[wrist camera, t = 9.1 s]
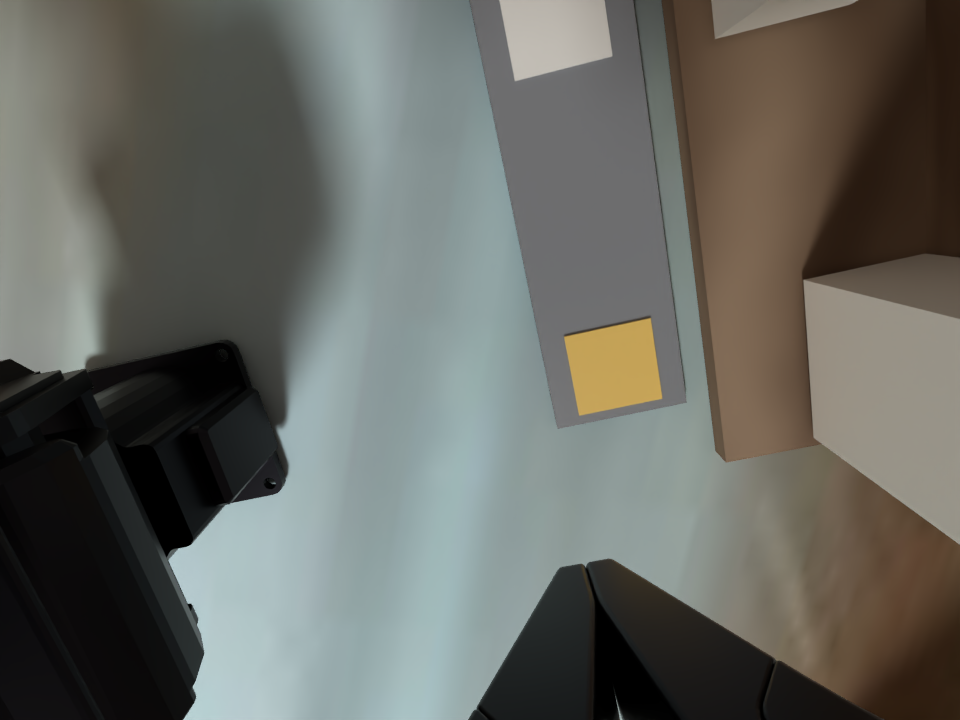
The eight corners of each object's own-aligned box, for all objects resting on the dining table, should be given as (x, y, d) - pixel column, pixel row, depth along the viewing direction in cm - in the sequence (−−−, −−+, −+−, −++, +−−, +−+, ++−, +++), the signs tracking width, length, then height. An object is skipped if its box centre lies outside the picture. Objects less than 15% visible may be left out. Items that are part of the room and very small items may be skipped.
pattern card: (556, 424, 22) (558, 429, 21) (463, -31, 17) (462, -38, 17) (682, 398, 21) (687, 403, 21) (619, -74, 17) (623, -82, 16)
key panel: (715, 450, 22) (893, 647, 12) (640, -180, 16) (861, -742, 7) (962, 402, 21) (1360, 571, 11) (975, -277, 15) (1783, -1074, 6)
